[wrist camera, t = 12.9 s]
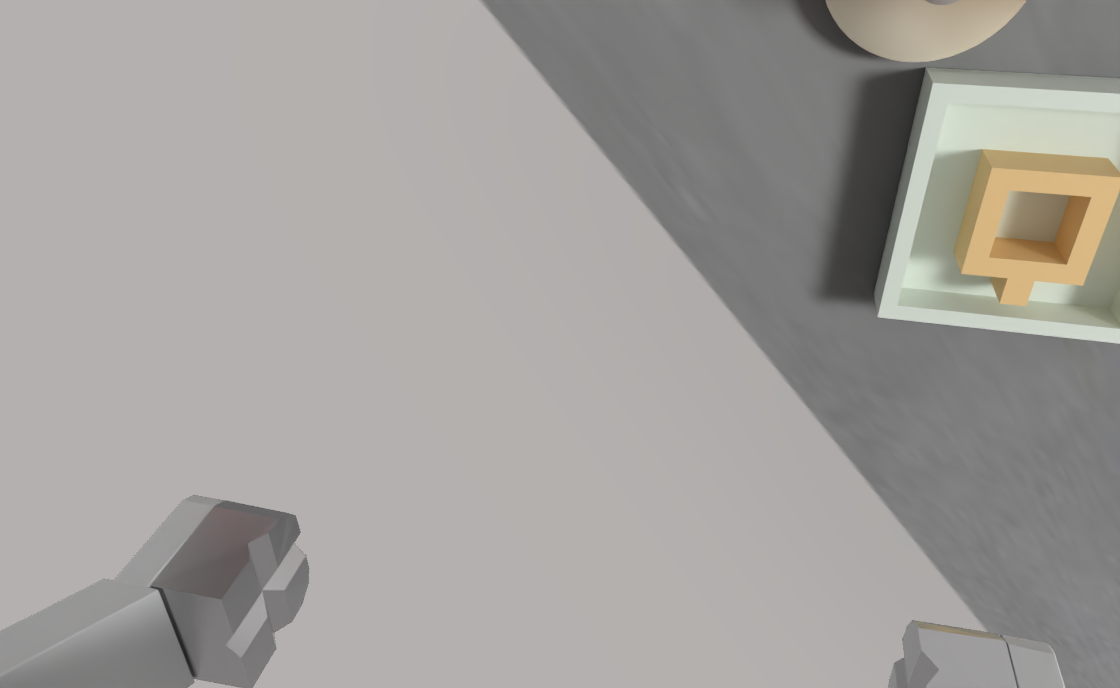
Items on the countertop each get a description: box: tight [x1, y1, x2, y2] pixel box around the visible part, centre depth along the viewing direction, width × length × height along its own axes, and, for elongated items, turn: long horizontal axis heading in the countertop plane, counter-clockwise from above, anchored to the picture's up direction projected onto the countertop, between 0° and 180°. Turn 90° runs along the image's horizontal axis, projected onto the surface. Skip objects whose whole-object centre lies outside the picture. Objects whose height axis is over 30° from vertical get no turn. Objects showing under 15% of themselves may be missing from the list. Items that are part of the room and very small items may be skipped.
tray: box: [874, 68, 1120, 343], centre depth 40 cm, size 12×12×2 cm
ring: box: [954, 149, 1120, 306], centre depth 40 cm, size 7×5×2 cm
